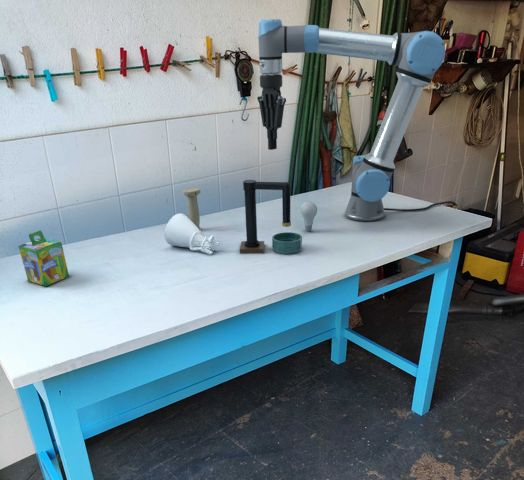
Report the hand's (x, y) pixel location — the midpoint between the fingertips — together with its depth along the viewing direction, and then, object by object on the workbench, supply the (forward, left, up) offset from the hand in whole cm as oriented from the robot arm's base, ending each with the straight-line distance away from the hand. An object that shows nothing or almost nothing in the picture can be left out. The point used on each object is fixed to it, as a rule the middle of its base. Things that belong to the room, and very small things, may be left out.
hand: (272, 149), depth 186 cm
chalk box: (+69, +48, -29) cm, 89 cm away
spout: (+1, +25, -20) cm, 32 cm away
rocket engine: (+28, +24, -29) cm, 47 cm away
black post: (+7, +24, -28) cm, 38 cm away
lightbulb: (-13, +6, -29) cm, 32 cm away
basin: (-5, +25, -28) cm, 38 cm away
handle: (+30, +2, -29) cm, 41 cm away
